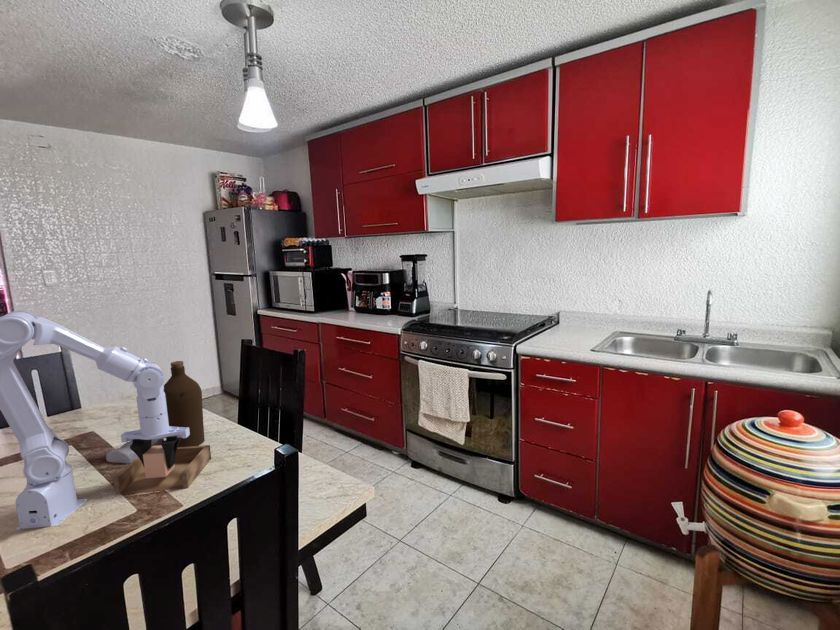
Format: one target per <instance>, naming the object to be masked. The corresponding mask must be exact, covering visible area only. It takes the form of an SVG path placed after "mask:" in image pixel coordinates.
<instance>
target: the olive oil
mask: <svg viewBox="0 0 840 630" xmlns="http://www.w3.org/2000/svg"><path fill="white" fill-rule="evenodd" d="M184 363H185V362H184V361H183V360H177V361H172V362H170V373H171V376H170V378H169V379H168V380H167V381H166V382H165V384H163V386H164V390H163V391H164V392H165V397H166V405H167V413H168V422H169V426H172V427H189V431H190V435H189V436H188V437H187V438H181V440H180V442H179V445H178V447H189V446H202V444H204V442H205V428H204V427H205V425H204V411H203V410H204V409H203V408H204V407H203V391H202V388H201V387H200V384H199V383H198V382H197V381H195V379H193V378H191V377H190V376H188V375H187V374H186V368H185V365H184Z"/></svg>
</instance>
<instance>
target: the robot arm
mask: <svg viewBox="0 0 840 630" xmlns="http://www.w3.org/2000/svg"><path fill="white" fill-rule="evenodd" d="M31 340H34V341H33V343H32V344H33V346H39V345H56V346H57V347H60V348H63V349H65V350H68V351H70V352H73V353H75V354H78V355H79V356H80V355H81V356H82V357H85V358H87V359H90V360H93V361H94V362H95V364H96V368H97V369H98V370H100V371H102V372H104V373H106V374H109V375H111V376H113V377H115V378H117V379H120V380H122V381H125V382H131V383H133V386H134V387H135V388H136V394H137V396H136V397H135V398H136V405H137V413H138V421H139V428H140V429H135V430H128V431H124V432H123V433H121V434H120V439H121V440H120V441H121V443H124V444H125V443H127V442H129V441H133V443H132V445H130V449H131V450H132V451H133V452H134V453H135V454H136V455H137V456H138V457H139V459H140V460H141V462H142V464H143V466H144V460H143V454H144V453H145V452H147V451H148V450H149V449H150V448H151V442H152V439H164V442H163V443H162V444H161V445H162V447H163V450H164V452H165V456H166V464H167V467H168V468H171V467H172V466H173V465H174V463H175V455H176V451H177V448H178V445H179V442H180V440H181V438H187V437H188V436H189V435H190V431H189V427H172V426H169V422H168V413H167V405H166V397H165V392H164V391H163V390H164V383H165V376H164V374H163V370H162V368H161V367H160V366H159V365H158V364H156V363H155V361H149V359H148V358H145V357H144V358H140V357H138V356H136V355H134V354H133V353H130V352H128V348H126V347H125V346H121V347H118V346H115V345H114V346H110V347H103V346H102V345H100V344H98V343H96V342H94V341H92V340H90V339H88V338H86V337H84V336H82V335H80V334H78V333H77V332H75V331H72V330H71V329H69V328H68V327H67V328H66V327H65V326H63V325H61V324H59V323H57V322H54V321H52V320H50V319H48V318H45V317H41V316H39V317H37V316H36V315H35V314H34V313H32V312H29V311H27V310H14V311H10V312H7V313H6V314H5V315H2V316H0V412H1V414H2V415H3V417H4V418H5V421H6V423H7V424H8V426H9V427H10V429H11V430H12V432H13V434H14V437H15V438H16V439H17V441H18V444H19V445H18V446H19V453H20V457H21V459H22V461H23V468H22V469H23V470H22V471H23V476H24V477H25V479H26V484H25V488H24V489H23V490H22V491H21V492H20V493H19V495H17V497H16V499H15V508H16V514H17V518H18V519H17V520H18V523H19V525H18V526H17V527H16V528H15V531H16V532H17V531H19V530H24V529H25V530H27V529H35V528H45V527H46V528H48V527H56V526H58V525H60V524H61V523H62V522H63V521H64V520H66V519H67V518H68V517H69V516H70V515H72V514H73V513H74V512H75V511H76V510H78V509H79V508H80V506H82V505H83V504H84V503H86V502H87V501H88V498H79V499H78V497H77V492H76V485H75V479H74V474H73V467H72V465H71V464H69V462H67V461H66V460H67V457H68V454H69V451H70V447H69V444H68V443H67V441H65V440H64V439H61V438H60V437H59V436H58V435H57V434H56V432H55V431H54V430H53V429H52V428H51V427H49V426H48V424H47V422H46V420H45V419H44V416H43V415H42V413H41V411H40V409H39V407H38V405H37V403H36V402H35V399H34V398H33V396H32V394H31V392H30V390H29V389H28V387H27V385H26V383H25V381H24V379H23V377H22V376H21V374H20V371H19V370H18V368H17V366H16V364H15V362H14V360H15V359H16V357H17V355H18V354H19V353H20V351H21V350H22V349H23V347H24V346H25V345H27V343H28V342H30V341H31Z"/></svg>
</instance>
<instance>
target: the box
mask: <svg viewBox="0 0 840 630" xmlns="http://www.w3.org/2000/svg"><path fill="white" fill-rule="evenodd" d="M211 460H212V451H211V445H210V444H207V445H206V444H205V445H199V446H189V447H178V448H177V451H176V455H175V468H174V469H173V470H172V471H171V472H170V473H169V474H168V475H167V476H166V477H158V478H146V475H145V468H144V466H143V464H142V462H141V460H140V459H139V457H137V458H136V459H135V460H133V461H132V462H131V463H130V464H127V465H126V466H125V467H124V468H123V469H121V471H119V472H118V473H117V474H116V475H115V476H114V477H112V482H113V489H114V495H119V494H132V493H143V492H144V493H145V492H146V493H147V492H157V491H169V490H179V489H181V490H182V489H189V488H190V486H191V485H192V484H193V483H194V481H195V480H196V479H197V477H198V476H199V475H200V474H201V472H202V471H203V470H204V469H205V467H206V466H207V465H208V464H209V462H210V461H211Z"/></svg>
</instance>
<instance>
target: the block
mask: <svg viewBox="0 0 840 630" xmlns="http://www.w3.org/2000/svg"><path fill="white" fill-rule="evenodd" d="M143 460H144V468H145V475H146V478H158V477H166V476H167V475H168V474H169V473H170V472H171V471H172V470H173V469H174V468H175V463H174V465H173V466H172V467H171V468H168V467H167V464H166V456H165V452H164V450H163V447H162V445H160V446H152V447H151V448H150V449H149V450H148V451H147V452H145V453H144V454H143Z"/></svg>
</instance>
